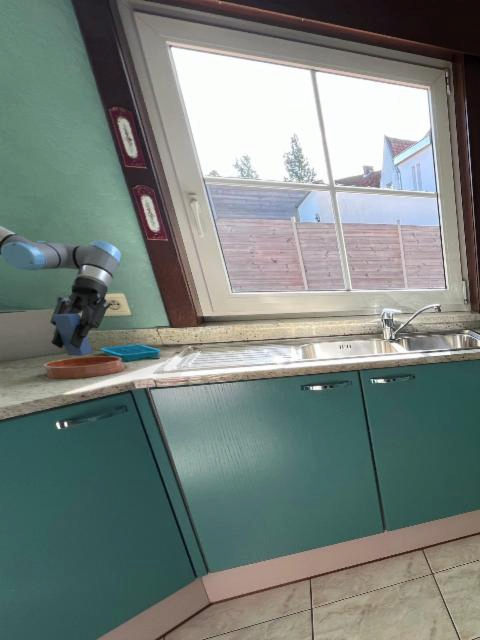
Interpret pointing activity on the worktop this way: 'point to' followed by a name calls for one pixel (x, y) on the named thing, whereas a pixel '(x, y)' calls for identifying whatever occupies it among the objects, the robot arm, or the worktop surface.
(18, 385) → the worktop surface
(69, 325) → the block
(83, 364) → the bowl
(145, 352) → the ice cube tray
